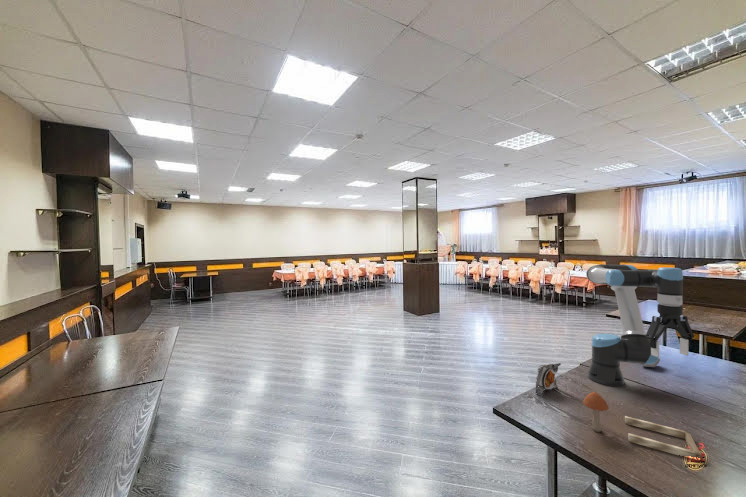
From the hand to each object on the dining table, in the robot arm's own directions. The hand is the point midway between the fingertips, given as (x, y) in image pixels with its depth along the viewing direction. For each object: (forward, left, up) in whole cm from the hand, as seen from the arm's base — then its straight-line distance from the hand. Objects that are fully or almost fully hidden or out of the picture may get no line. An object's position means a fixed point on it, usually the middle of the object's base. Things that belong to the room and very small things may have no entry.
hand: (669, 355), depth 126 cm
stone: (-2, +56, -25) cm, 62 cm away
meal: (-43, -8, -25) cm, 51 cm away
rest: (-8, -26, -25) cm, 37 cm away
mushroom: (-25, -31, -25) cm, 47 cm away
